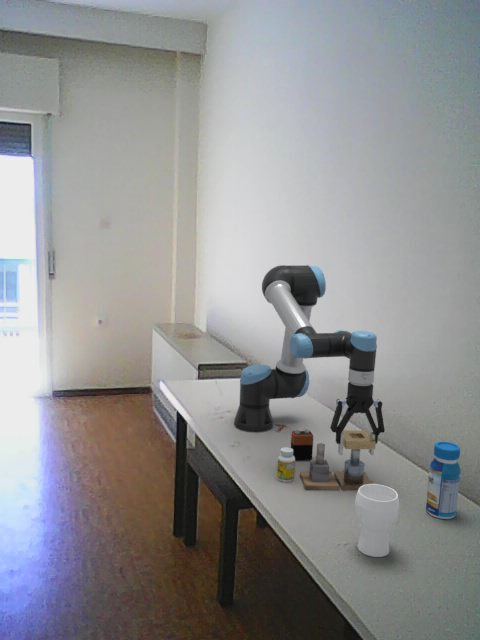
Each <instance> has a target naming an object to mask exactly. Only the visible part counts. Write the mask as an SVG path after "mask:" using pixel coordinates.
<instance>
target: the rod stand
mask: <svg viewBox="0 0 480 640" xmlns="http://www.w3.org/2000/svg"><path fill="white" fill-rule="evenodd" d="M325 447H326V444H324V443H323V442H318V443H317V444H316V455H315V457H316V458H315V459H312V460H309V471H299V479H300V480H301V482H302V485H303V488H304V490H305V491H339V488H340V487H339V485H338V483H337V481H336V479H335V477H334V473H332V471H330V464H329V463H328V461H327V460H326V459H325V451H326V450H325Z"/></svg>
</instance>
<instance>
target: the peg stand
mask: <svg viewBox="0 0 480 640" xmlns="http://www.w3.org/2000/svg"><path fill="white" fill-rule="evenodd" d="M360 459H361V449H350V459H346V460H345V461H344V469H343V470H344V471H333V476H334V478H335V480H336V482H337V484H338V485H339V487H338V488H340V490H341V491H358V489H359V488H360V487H361V486H363V485H366V484H374V483H373V481H372V480H371V479H370V477H369V476H368V474H367V473H366V471H365V466H366V463H365V462H364V461H362V460H360Z"/></svg>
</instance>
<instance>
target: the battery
mask: <svg viewBox="0 0 480 640" xmlns="http://www.w3.org/2000/svg"><path fill="white" fill-rule="evenodd" d="M290 433H291V434H290V435H291V436H290V448H292V449H293V456H294V457H295V462H298V461H310V460H313V453H314V452H313V450H314V435H313V432H312V431H311V429H308V428H307V429H304V430H299V429H295V430H292V431H291V432H290Z"/></svg>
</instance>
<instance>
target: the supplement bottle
mask: <svg viewBox="0 0 480 640" xmlns="http://www.w3.org/2000/svg"><path fill="white" fill-rule="evenodd" d="M279 453H280V454H279V455H278V457H277V468H276V469H277V471H276V473H277V474H276V475H277V476H276V479H277V480H278V481H280V482H284V483H289V482H293V481H294V480H295V472H296V471H295V470H296V468H295V467H296V461H295V457H294V456H293V449H292V448H291V447H286V446H285V447H281V448H280V452H279Z"/></svg>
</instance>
